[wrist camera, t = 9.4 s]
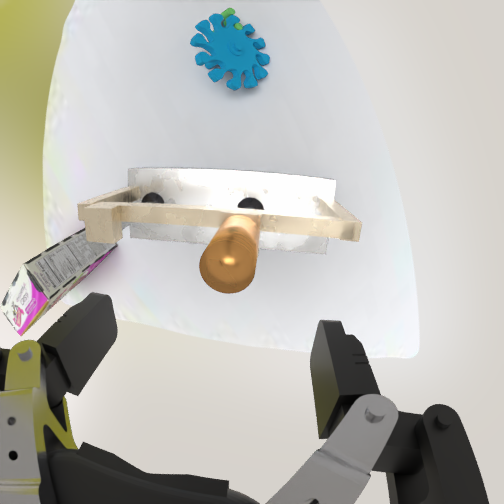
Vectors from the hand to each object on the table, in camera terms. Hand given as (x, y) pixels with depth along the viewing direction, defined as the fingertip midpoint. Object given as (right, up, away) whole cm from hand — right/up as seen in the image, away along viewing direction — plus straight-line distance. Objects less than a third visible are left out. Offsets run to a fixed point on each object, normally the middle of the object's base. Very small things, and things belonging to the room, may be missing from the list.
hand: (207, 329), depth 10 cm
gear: (0, +26, +17) cm, 31 cm away
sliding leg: (+1, +8, +21) cm, 23 cm away
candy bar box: (-23, +3, +28) cm, 36 cm away
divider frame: (-1, +8, +24) cm, 25 cm away
